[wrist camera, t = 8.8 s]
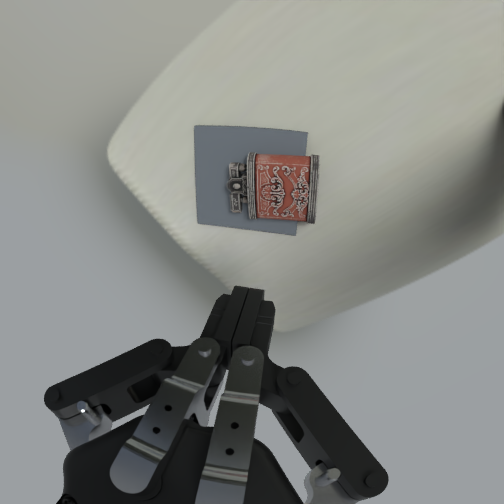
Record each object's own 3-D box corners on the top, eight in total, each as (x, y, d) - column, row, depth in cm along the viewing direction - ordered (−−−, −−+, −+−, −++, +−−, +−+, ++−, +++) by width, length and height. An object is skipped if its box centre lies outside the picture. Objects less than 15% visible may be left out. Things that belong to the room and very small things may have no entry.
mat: (307, 132, 28) (307, 133, 28) (295, 233, 35) (295, 235, 35) (196, 125, 30) (194, 126, 30) (199, 221, 37) (197, 223, 37)
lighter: (318, 151, 28) (229, 148, 30) (320, 160, 26) (221, 157, 27) (314, 215, 33) (234, 209, 35) (314, 229, 31) (227, 223, 32)
